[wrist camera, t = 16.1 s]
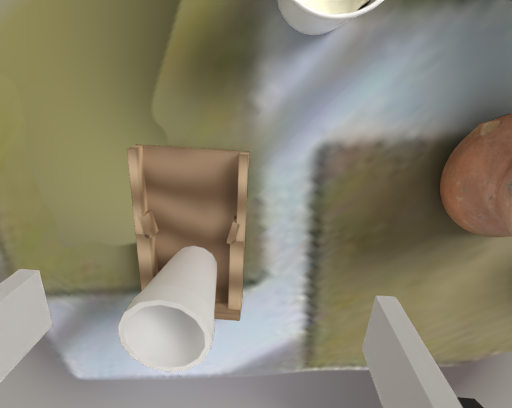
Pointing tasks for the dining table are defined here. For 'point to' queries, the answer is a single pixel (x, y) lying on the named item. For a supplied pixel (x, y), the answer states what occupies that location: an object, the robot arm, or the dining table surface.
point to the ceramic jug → (481, 180)
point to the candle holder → (322, 13)
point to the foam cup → (173, 314)
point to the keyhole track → (191, 212)
